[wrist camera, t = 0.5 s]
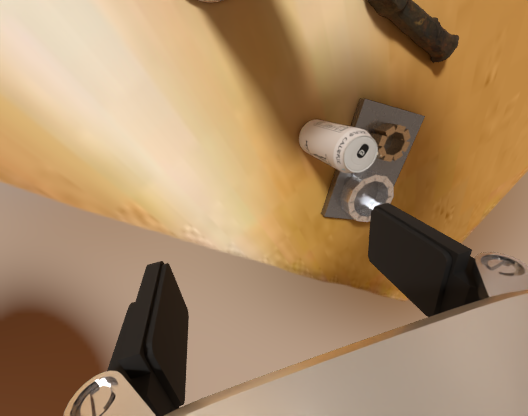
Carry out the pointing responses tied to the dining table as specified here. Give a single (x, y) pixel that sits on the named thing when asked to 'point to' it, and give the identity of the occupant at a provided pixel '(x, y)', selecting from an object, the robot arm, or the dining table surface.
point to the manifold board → (384, 167)
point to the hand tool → (418, 27)
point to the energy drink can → (339, 145)
